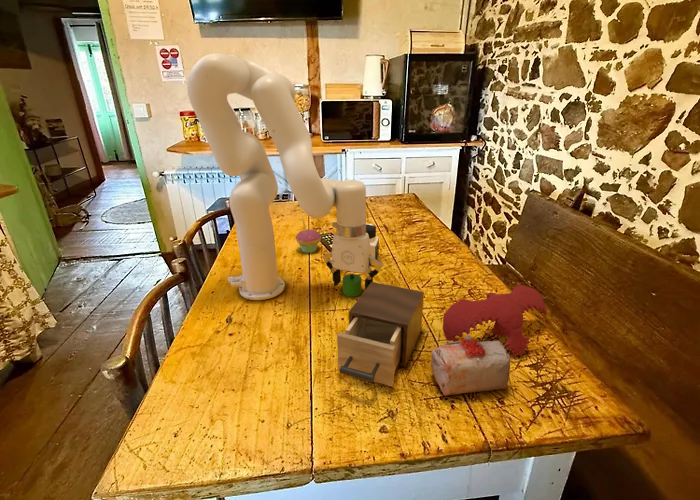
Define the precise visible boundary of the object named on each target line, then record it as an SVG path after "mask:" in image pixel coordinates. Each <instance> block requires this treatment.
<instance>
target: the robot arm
mask: <svg viewBox="0 0 700 500" xmlns="http://www.w3.org/2000/svg"><path fill="white" fill-rule="evenodd" d="M186 84H187V85H186V86H187V88H186V90H187V96H188V99H189V103H190V105H191V107H192V110H193V112H194V114H195V116H196V118H197V121H198V122H199V125H200V127H201V129H202V132H203V134H204V136H205V139H206V142H207V144H208V146H209V148H210V151H211V153H212V155H213V157H214V159H215V162H216V164H217V166H218V168H219V170H220V171H221V172H222V173H224V174H225V175H226V176H228V177H239V179H240V181H239V182H237V183H236V184H235V186H234V187H233V188H232V189H231V192H230V194H229V198H228V199H229V203H228V204H229V208H230V209H229V210H230V213H231V215H232V218H233V221H234V225H235V226H234V227H235V232H236V239H237V244H238V250H239V257H240V265H241V271H242V274H239V276H228V277H227V284H228V285H229V284H230V287H231V288H235V287H236V288H237V287H239V288H238V291H239V295H240V296H241V297H242V298H244V299H247V300H251V301H265V300H269V299H273V298H275V297H277V296H279V295H280V294H282V293H283V292H284V290H285V285H286V284H285V281H284V279H282V278H281V277H279V270H278V259H277V251H276V241H275V231H274V226H273V225H274V224H273V221H272V216H271V213H270V206H271V205H272V204H273V202H274V201H275V200H276V198H277V196H278V193H279V184H278V180H277V178H276V174H275V172H274V170H273V168H272V165H271V163H270V160H269V157H268V155H267V152H266V149H265V147H264V145H263V144H262V142H261V141H260V139H259V138H258V137H257V136H256V135H254V134H253V133H250V132H247V131H243V130H242V127H241V125H240V122H239V120H238V116H237V115H236V112H235V111H234V109H233V107H232V106H231V104H230V103H229V99H228V96H229V95H232V94H236V95H240V96H242V97H244V98H246V99H249V100H250V101H252V102H253V104H254V106H255V108H256V111H257V112H258V115H259V116H260V118H261V120H262V122H263V123H264V126H265V128H266V130H267V132H268V134H269V135H270V137H271V139H272V141H273V143H274V145H275V147H276V149H277V152H278V154H279V159H280V163H281V165H282V169H283V173H284V175H285V179H286V181H287V184H288V186H289V188H290V190H291V193H292V195H293V196H294V198H295V199H296V202H297V204H298V205H299V207H300V208H301V210H302V211H303V212H304V213H305V214H306V215H307V216H308V217H310V218H312V219H322V218H324V217H326V216H327V215H329V214H330V212H332V209H333V207H334V208H335V211H336V215H335V216H336V221H333V222H332V225H331V226H332V228H335V230H336V231H335V232H334V233H333V237H332V245H331V251H330V252H328V253H325V254H324V255H323V256H322V259H323V261H324V263H326V264H325V265H326V267H327V268H328V269H329V270H330V273H331V274H332V282H333V287H337V286H338V285H339V284H340V283H341V282H342V274H341V271H343V272H351V273H354V274H363V275H364V276H365V279H364V291H365V290H366V288H367V287H368V286H369V284H370V283H371V282H374V277H375V276H377V274H379V272H380V271H381V270H382V269H383V267H384V264H383V263H382V262H380V261H379V260H378V259H377V260H376V259H375V258H373V257H372V256H371V245H370V240H369V235H368V233H366V224H367V189H366V185H365V183H364V182H363V181H360V180H356V179H346V180H345V179H344V180H339V179H338V180H337V179H332V178H326V177H325V178H324V177H320V175H319V172H318V170H317V167H316V163H315V159H314V155H313V142H312V137H311V134H310V131H309V130H308V127H307V126H306V123H305V121H304V119H303V117H302V114H301V113H300V112H299V110H298V109H299V108H298V107H297V104H296V103H295V100H296V90H295V89H296V88H295V87H294V84H293V83H292V81H290V79H289V78H287V77H286V76H284V75H283V74H281V73H278V72H275V71H273V70H271V69H269V68H266V67H264V66H262V65H260V64H258V63H256V62H253V61H251V60H250V59H247V58H246V57H242V56H240V55H237V54H229V53H223V52H215V53H214V52H213V53H209V54H206V55H204V56H202V57H201V58H199V59H198V60H197V61H196V62H195V64H194V65H193V66H192V68H191V69H190V71H189V73H188V78H187V82H186ZM371 264H372V265H371ZM373 265H374V266H373ZM371 266H373V267H375V268H374V269H372V267H371Z"/></svg>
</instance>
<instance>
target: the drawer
mask: <svg viewBox="0 0 700 500" xmlns="http://www.w3.org/2000/svg"><path fill="white" fill-rule="evenodd" d="M403 332H404V327H400V326H396V325H391V324H387V323H383V322H378V321H374V320H370V319H365V318H361V317H356V316H355V318H354V319H353V320H352V322H351V323H350V325H349V324H348V326H347V327H346V329H345V333H344V332H338V334H337V335H336V341H337V342H336V347H337V371H338V373H339V374H342V375H345V376H347V377H348V376H349V377H352V378H355V379H360V380H362V381H366V382H368V383H369V382H370V383H374V382H375V383H379V384H382V385H385V386H389V387H393V385H394V384H395V372H396V370H397V368H398V366H399V365H398V363H399V361H400V359H401V357H402V352H403Z"/></svg>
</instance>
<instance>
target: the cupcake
mask: <svg viewBox="0 0 700 500" xmlns="http://www.w3.org/2000/svg"><path fill="white" fill-rule="evenodd" d="M301 221H302V225H303V230H301V231H299V232H298V233H297V234H296V235H295V239H296V242H297V244H298V245H299V246H300V248H301V251H302V252H304V253H305V254H306V253H307V254H311V253H314V252H316V251H317V247H318V245H319V243H320V242H321V241H322V235H321V233H320V232H318V231H317V230H316V229H307V227H306V222H305V218H304V217H303V216H301Z"/></svg>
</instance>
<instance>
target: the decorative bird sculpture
mask: <svg viewBox="0 0 700 500" xmlns="http://www.w3.org/2000/svg"><path fill="white" fill-rule="evenodd" d="M529 309H530V310H531V311H532V312H534V309H535V310H536V311H538V312H539V311H540V312H541V314H542V313H543V314H544V316H545V317H546V316H547V312H548V311H547V307H546V303H545V301H544V299H543V297H542V295H541V294H540V293H539V292H538V291H537V290H536V289H534V288H532V287H530V286H527V285H521V284H518V285H515V286H514V287H513V290H512V291H511V292H509V293H493V292H489V293H486V298H485V299H482V300H477V301H476V300H469V299H465V298H460V299H459V300H457V301H456V302H454V303H452V304H451V305H450V306H449V308H447V310H446V311H445V312H444V314H443V316H442V321H443V322H442V331H443V334H444V338H445V340H446V341H449V342H457V337H458V338H463V333H465V334H466V335H468V334H469V335H470V333H471V329H473V330H477V324H478V325H479V326H484V323H486V324H489V321H490V322H491V323H494V324H493V327H492V328H491V330H489V329H485V330H484V331H483V332H484V333H486V334H487V337H489V336H490V334H493V335H497V336H501V337H505V336H506V338H507V341H506V342H505V343H504V344H503V346H504V347H506V351H507V350H508V351H509V350H510V354H512V357H516V356H519V357H520V358H521V357H522V356H523V355H522V354H526V350H527V349H529V347H528V344H530V343H531V342H530V341H529V339H530V336H525V335H524V334H523V324H524V314H525V312H527V313H529V312H530V310H529ZM525 349H526V350H525Z"/></svg>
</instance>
